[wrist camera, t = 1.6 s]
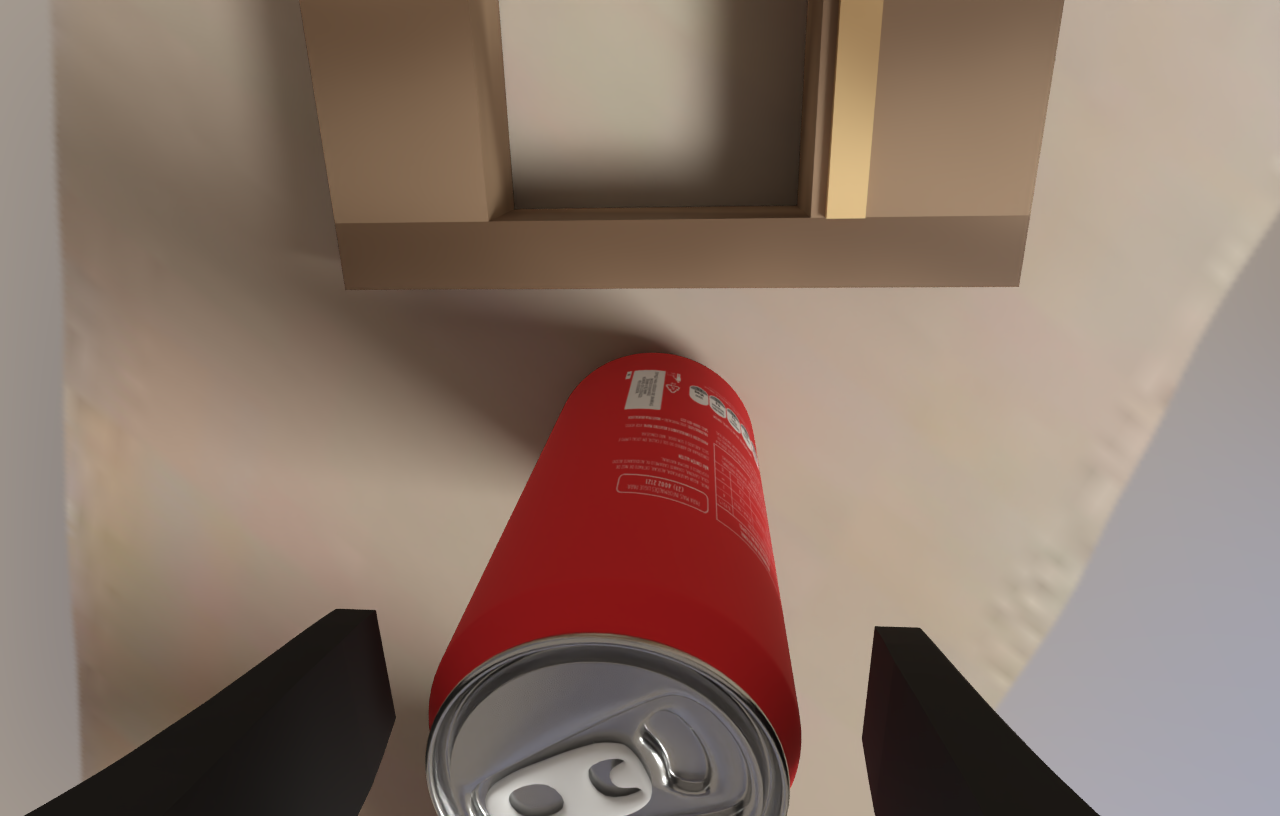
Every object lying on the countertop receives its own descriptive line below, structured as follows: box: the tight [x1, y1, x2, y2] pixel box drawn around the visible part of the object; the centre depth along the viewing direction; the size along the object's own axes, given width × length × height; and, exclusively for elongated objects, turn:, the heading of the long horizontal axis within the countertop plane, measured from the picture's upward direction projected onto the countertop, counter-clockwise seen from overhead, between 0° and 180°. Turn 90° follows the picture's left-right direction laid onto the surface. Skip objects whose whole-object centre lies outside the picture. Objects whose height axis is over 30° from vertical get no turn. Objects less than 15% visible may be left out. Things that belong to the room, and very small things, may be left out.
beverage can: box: [425, 353, 801, 816], centre depth 15 cm, size 5×5×12 cm
